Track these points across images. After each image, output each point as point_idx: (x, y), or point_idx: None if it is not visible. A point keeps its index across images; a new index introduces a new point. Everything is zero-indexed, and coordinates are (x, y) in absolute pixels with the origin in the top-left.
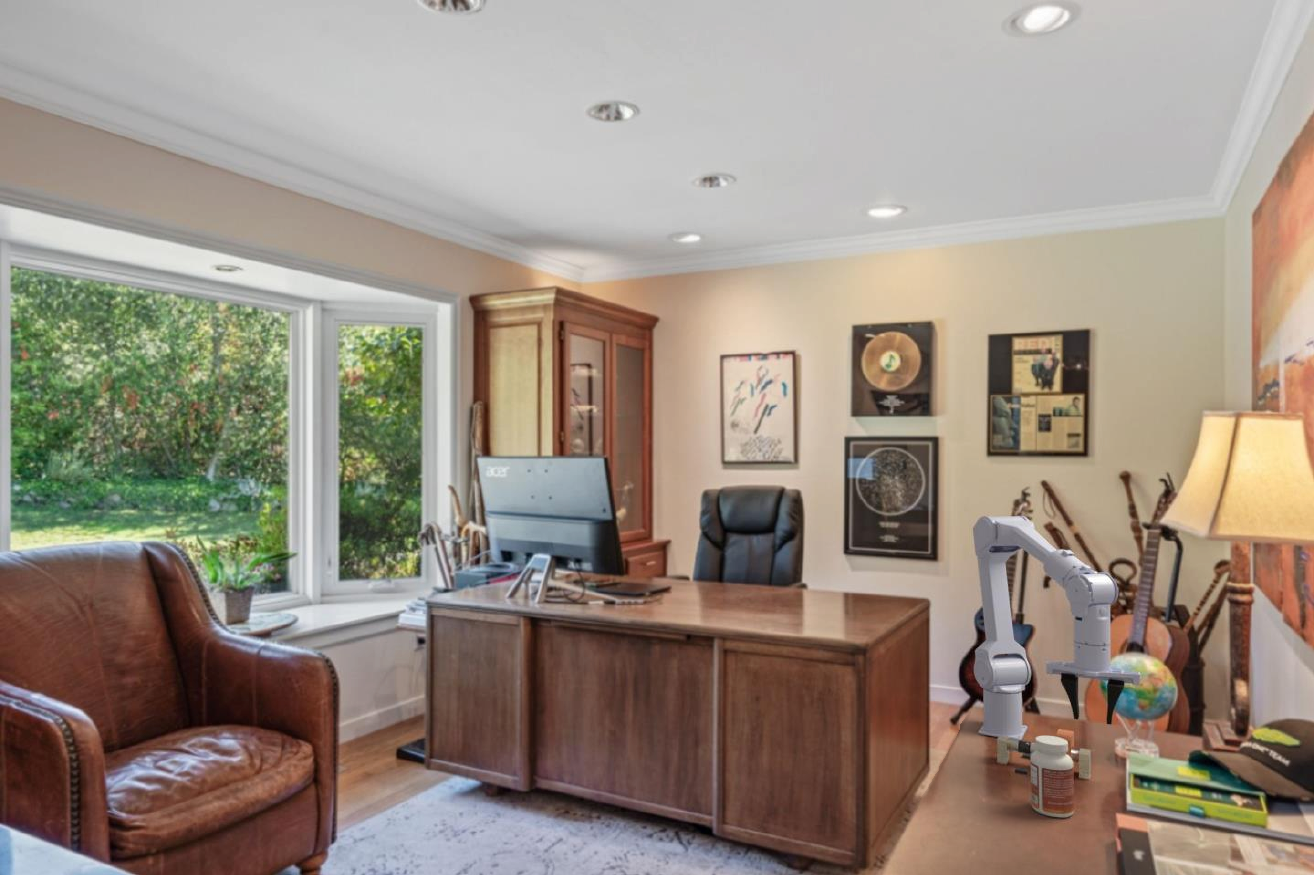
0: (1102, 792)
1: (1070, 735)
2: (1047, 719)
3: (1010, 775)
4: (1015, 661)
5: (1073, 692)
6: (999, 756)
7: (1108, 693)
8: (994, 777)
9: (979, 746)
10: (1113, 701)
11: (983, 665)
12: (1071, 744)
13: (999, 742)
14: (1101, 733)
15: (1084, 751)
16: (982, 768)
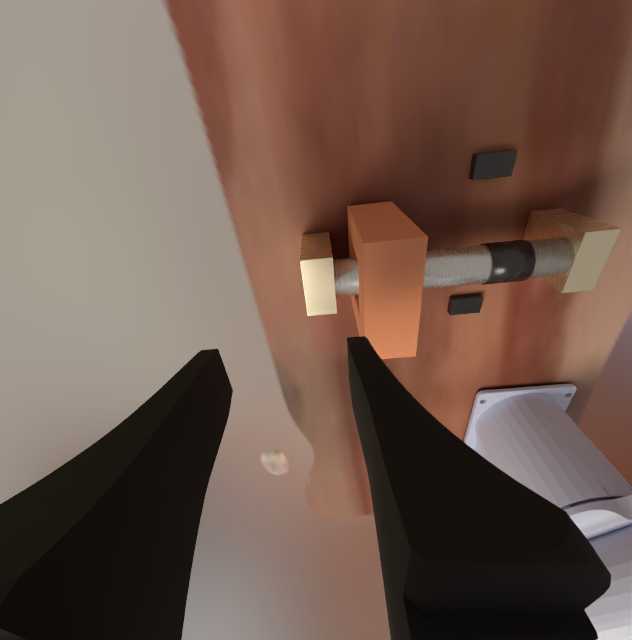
0: (246, 144)
1: (370, 311)
2: None
3: (530, 106)
4: None
5: (404, 451)
6: (566, 213)
7: (81, 503)
8: (598, 31)
9: (586, 311)
10: (102, 448)
11: None
12: (360, 268)
13: (605, 226)
14: (333, 488)
15: (320, 290)
16: (624, 115)
